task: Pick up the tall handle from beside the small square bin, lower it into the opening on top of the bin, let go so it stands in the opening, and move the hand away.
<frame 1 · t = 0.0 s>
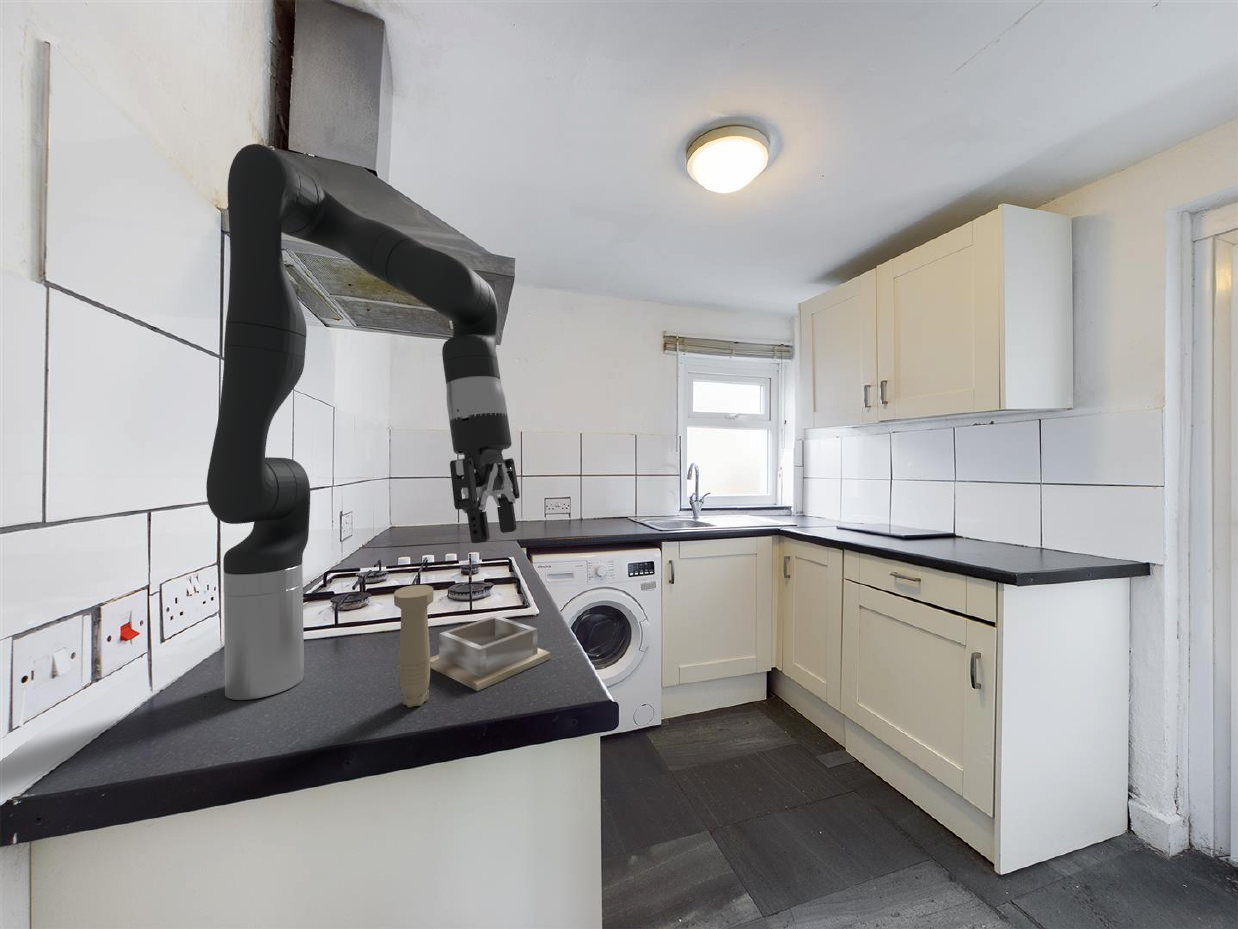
hand: (495, 536, 63), 22 cm above the countertop, tool pointing down, fingers open, 8 cm apart
small square bin: (489, 662, 77), on the countertop
handle: (415, 703, 64), on the countertop
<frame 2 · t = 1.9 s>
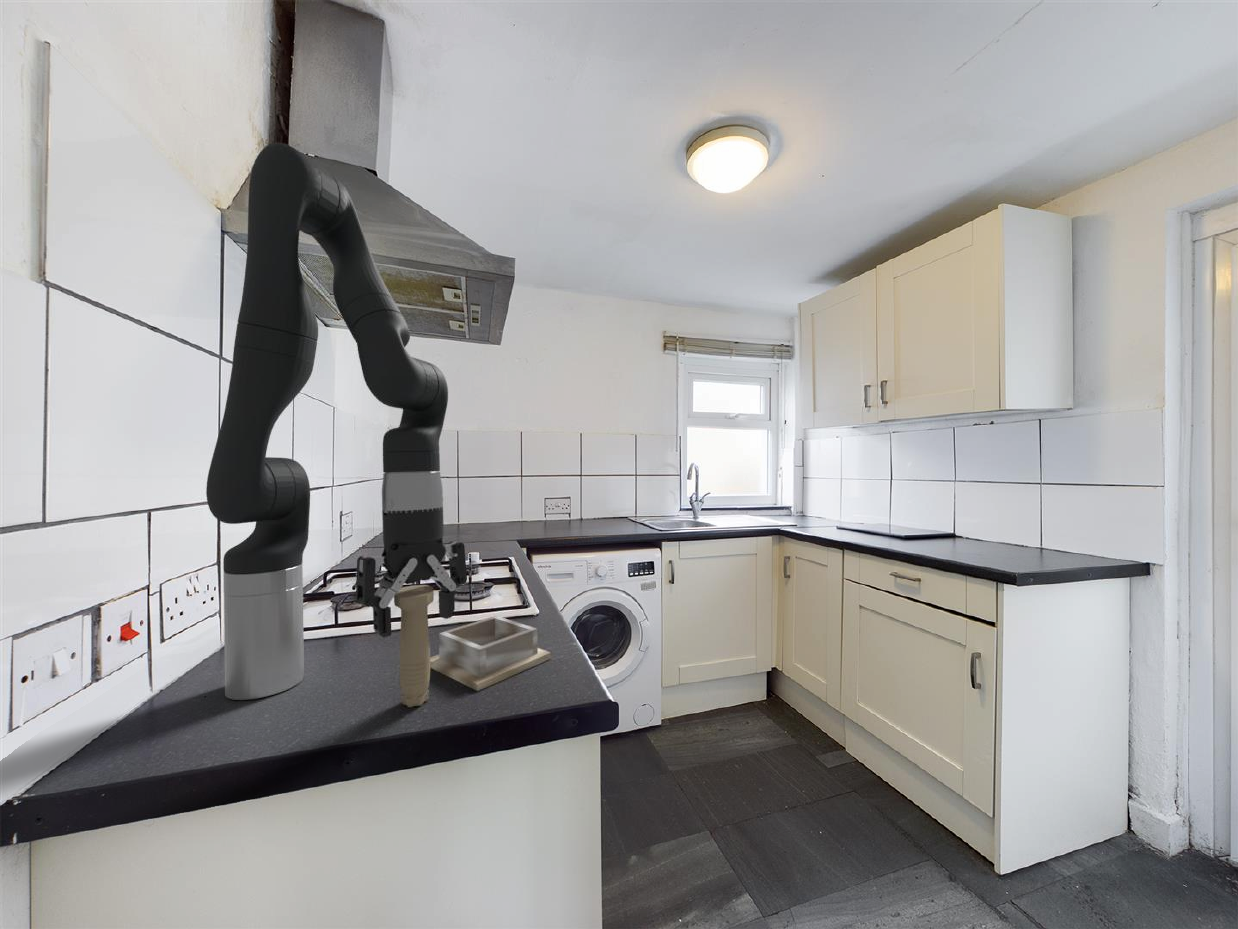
hand: (416, 626, 64), 10 cm above the countertop, tool pointing down, fingers open, 8 cm apart
nothing on the countertop moved.
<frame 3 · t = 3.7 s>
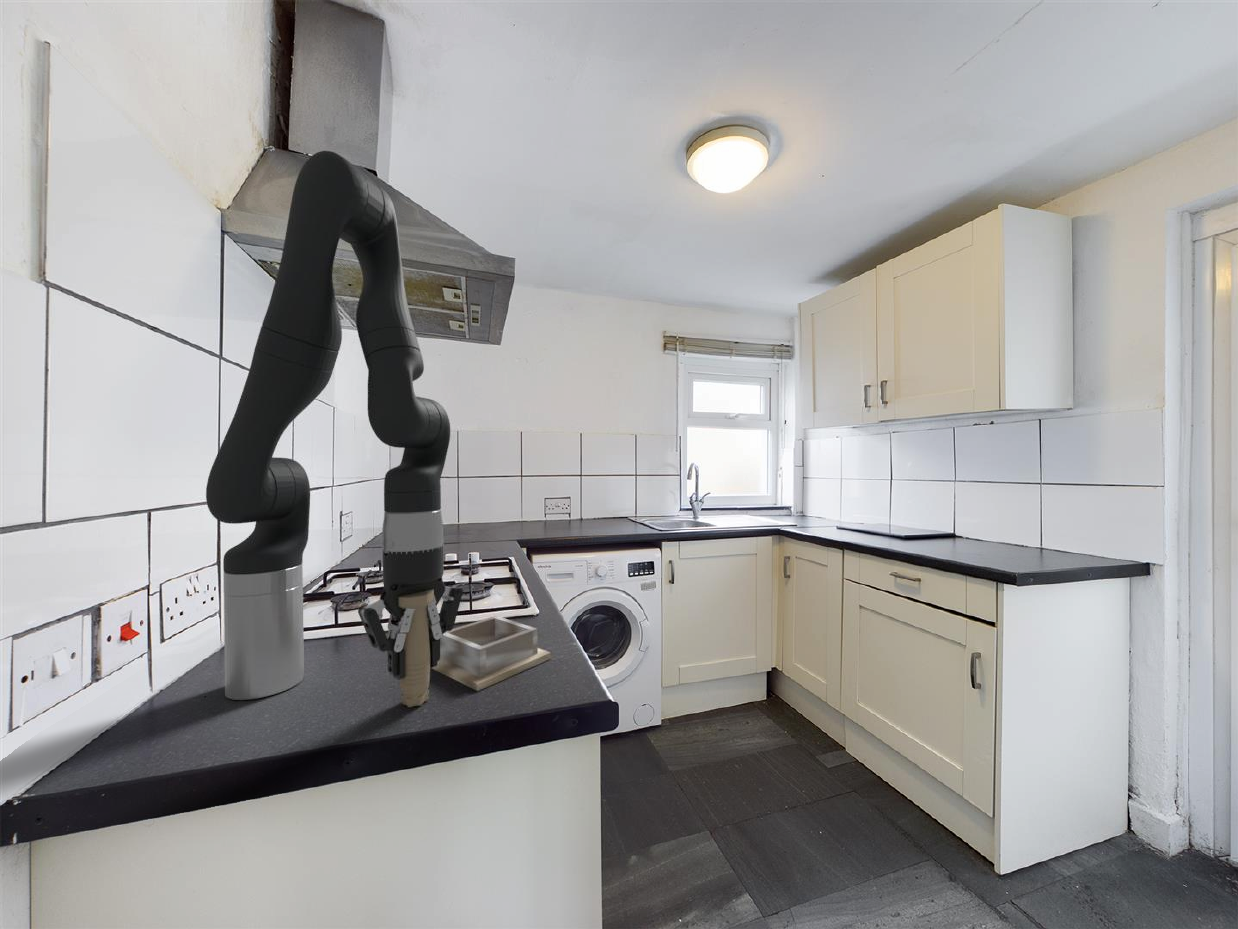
hand: (414, 670, 64), 4 cm above the countertop, tool pointing down, fingers closed on handle, 4 cm apart
handle: (415, 703, 64), on the countertop, touching gripper
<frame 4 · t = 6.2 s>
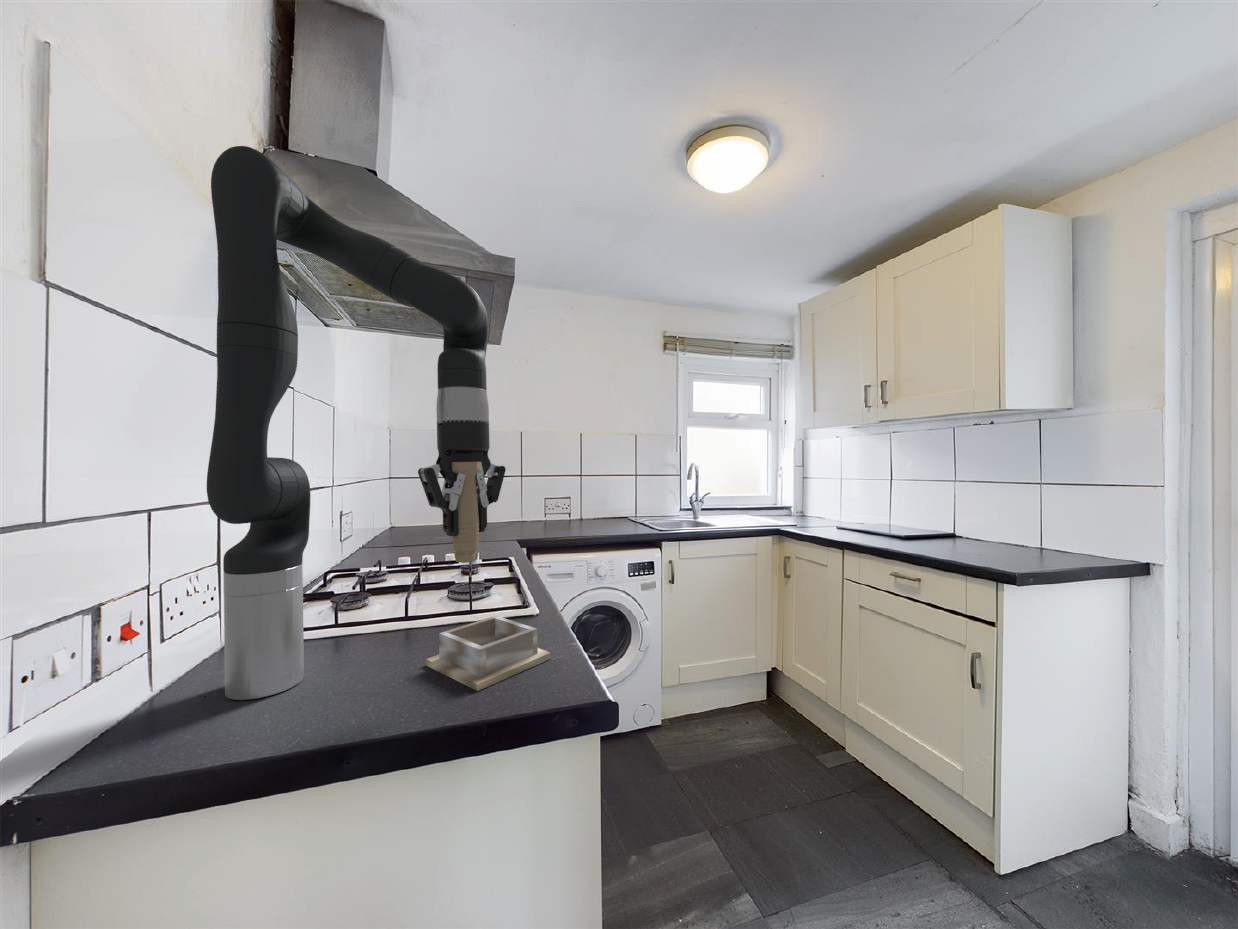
hand: (465, 533, 72), 22 cm above the countertop, tool pointing down, fingers closed on handle, 4 cm apart
handle: (466, 562, 72), point 17 cm above the countertop, touching gripper
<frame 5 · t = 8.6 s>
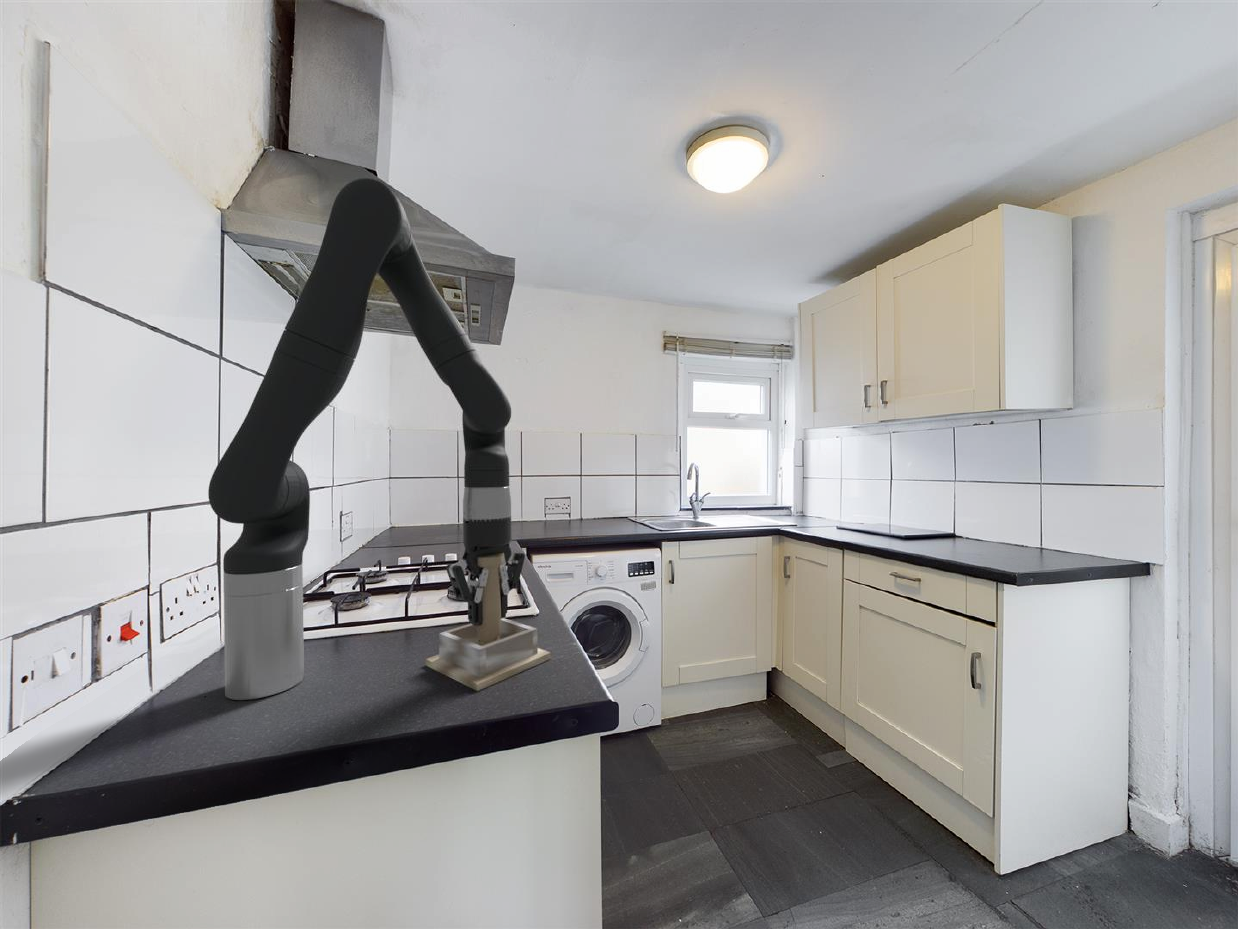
hand: (488, 620, 77), 7 cm above the countertop, tool pointing down, fingers closed on handle, 4 cm apart
handle: (489, 648, 77), point 2 cm above the countertop, touching gripper
when the fingers open (7 cm above the countertop, at t = 9.2 s): handle drops 1 cm, resting on small square bin.
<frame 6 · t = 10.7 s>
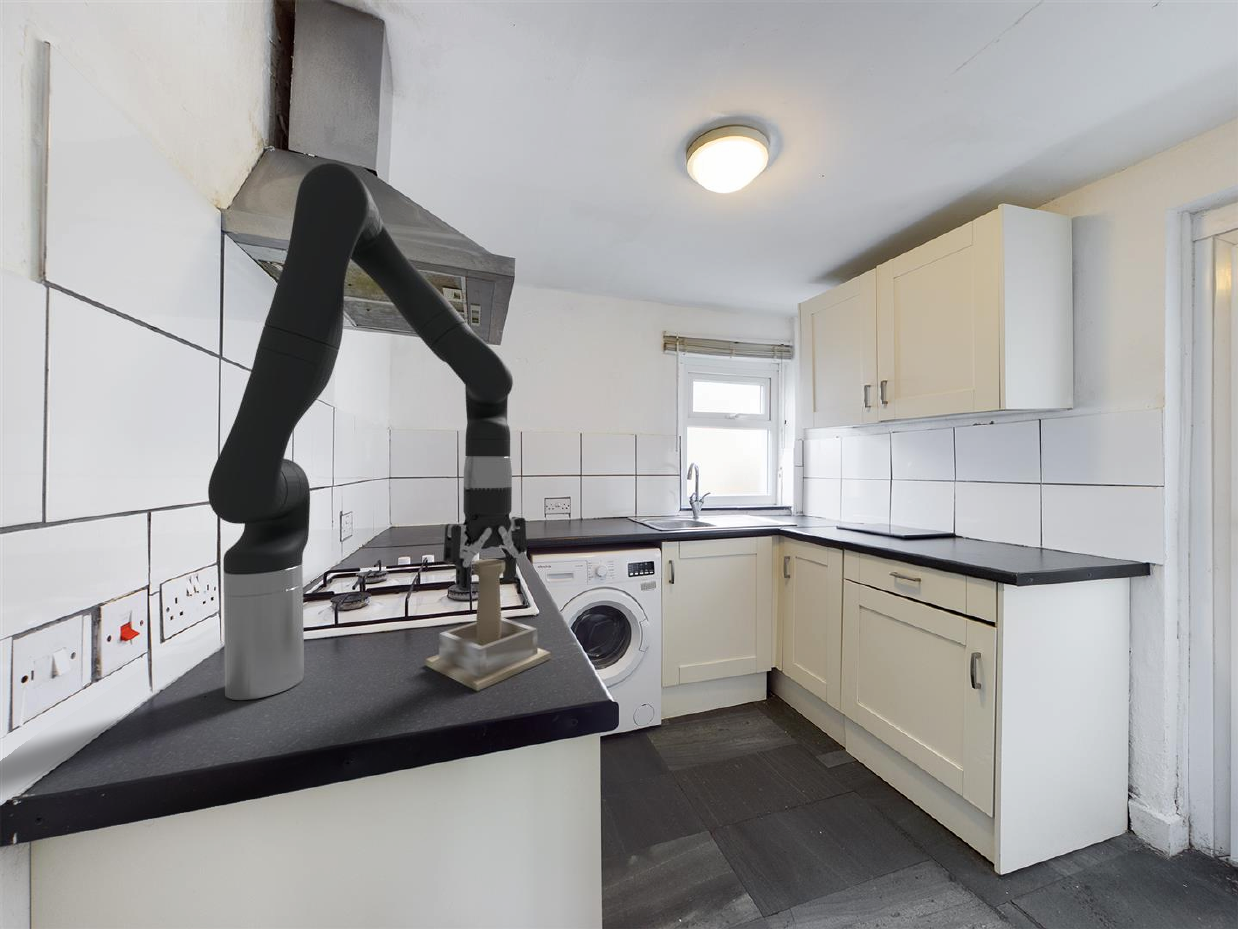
hand: (487, 584, 77), 12 cm above the countertop, tool pointing down, fingers open, 8 cm apart
handle: (488, 657, 77), point 1 cm above the countertop, touching small square bin
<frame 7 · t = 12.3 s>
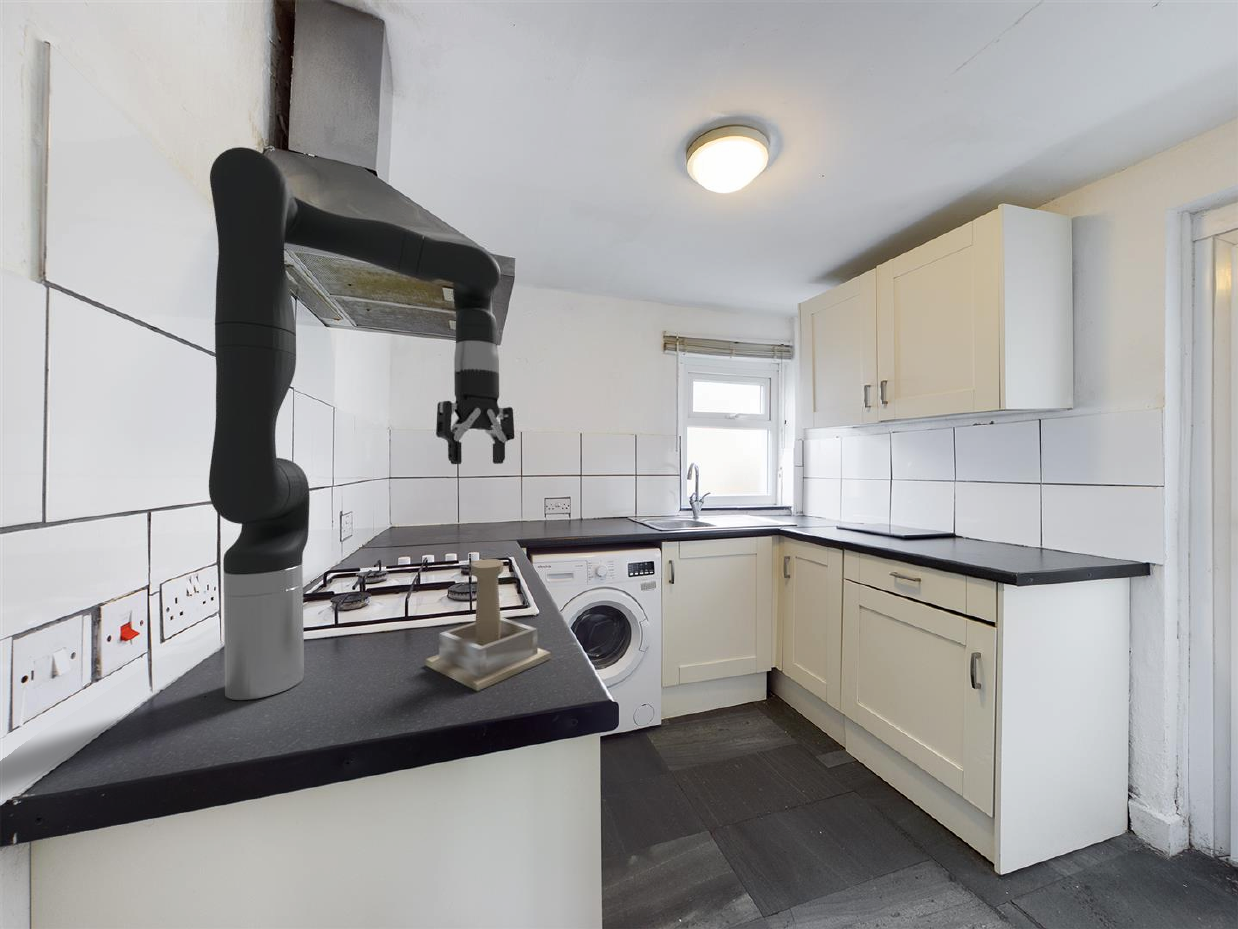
hand: (477, 463, 83), 32 cm above the countertop, tool pointing down, fingers open, 8 cm apart
nothing on the countertop moved.
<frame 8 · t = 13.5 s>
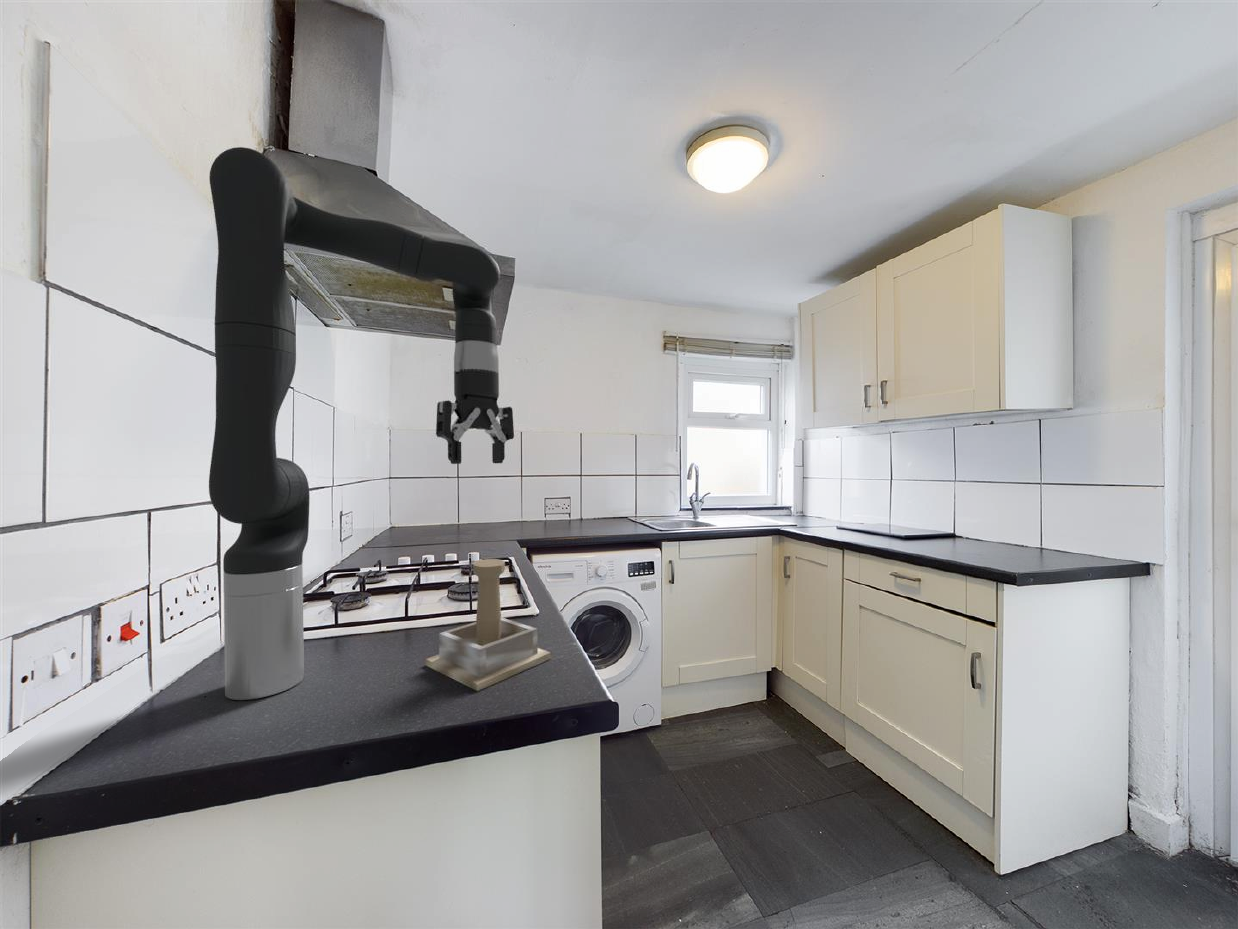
hand: (477, 463, 83), 32 cm above the countertop, tool pointing down, fingers open, 8 cm apart
nothing on the countertop moved.
at the end: handle 0.1 cm off-centre on the small square bin, point 0.8 cm above the small square bin's base; handle tilted 1°; the gripper is holding nothing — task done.
